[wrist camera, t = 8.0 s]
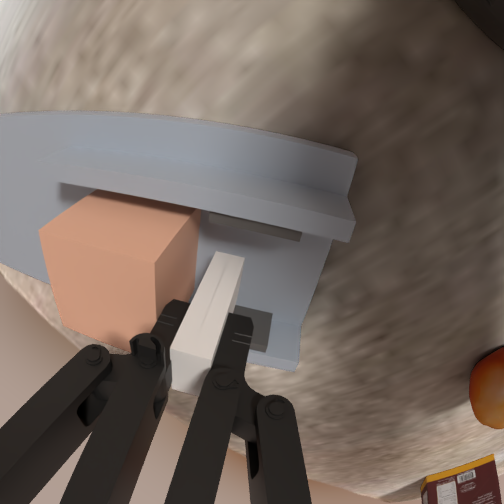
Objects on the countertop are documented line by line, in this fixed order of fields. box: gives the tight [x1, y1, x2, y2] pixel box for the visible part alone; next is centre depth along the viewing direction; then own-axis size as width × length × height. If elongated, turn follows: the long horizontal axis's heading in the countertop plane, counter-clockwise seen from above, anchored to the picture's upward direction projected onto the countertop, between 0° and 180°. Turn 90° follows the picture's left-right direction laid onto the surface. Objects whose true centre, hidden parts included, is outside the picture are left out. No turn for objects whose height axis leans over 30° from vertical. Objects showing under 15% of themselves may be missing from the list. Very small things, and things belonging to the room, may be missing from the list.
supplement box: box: [421, 454, 502, 504], centre depth 32 cm, size 10×15×16 cm
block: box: [38, 189, 201, 352], centre depth 15 cm, size 6×6×6 cm
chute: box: [0, 111, 358, 372], centre depth 17 cm, size 14×30×4 cm, turn 80°
